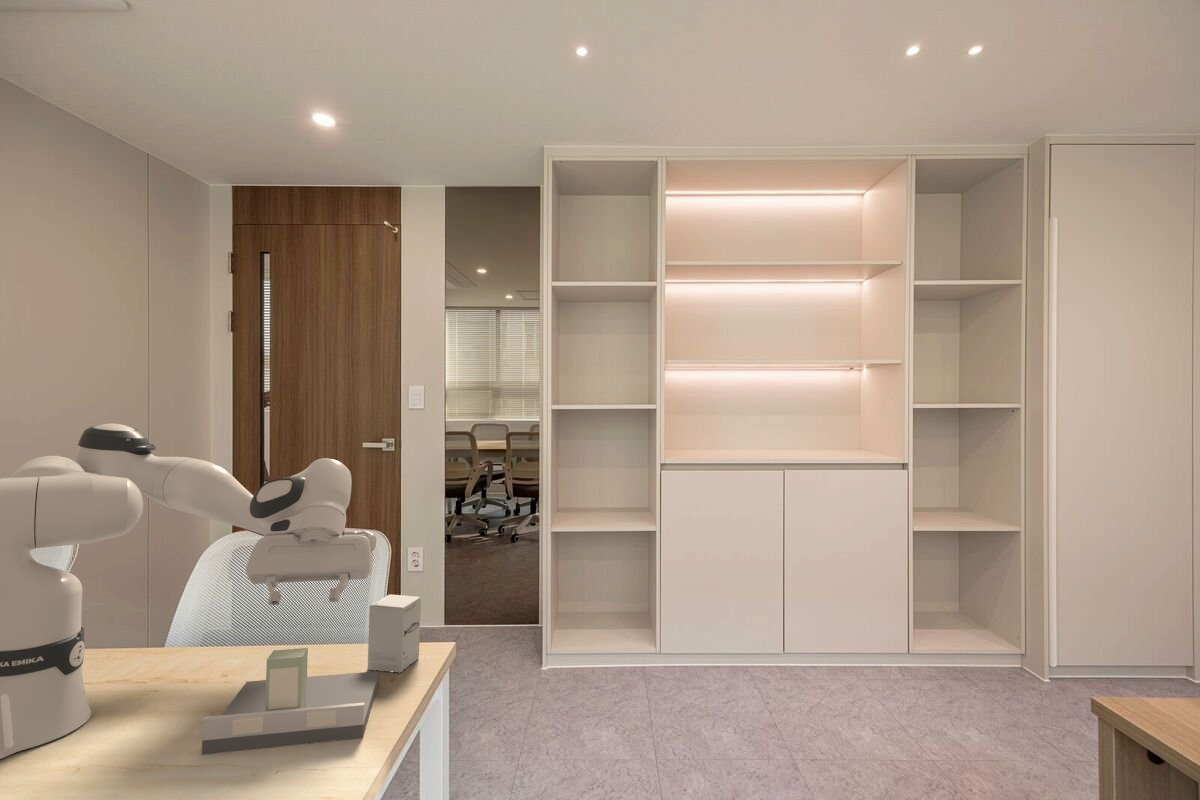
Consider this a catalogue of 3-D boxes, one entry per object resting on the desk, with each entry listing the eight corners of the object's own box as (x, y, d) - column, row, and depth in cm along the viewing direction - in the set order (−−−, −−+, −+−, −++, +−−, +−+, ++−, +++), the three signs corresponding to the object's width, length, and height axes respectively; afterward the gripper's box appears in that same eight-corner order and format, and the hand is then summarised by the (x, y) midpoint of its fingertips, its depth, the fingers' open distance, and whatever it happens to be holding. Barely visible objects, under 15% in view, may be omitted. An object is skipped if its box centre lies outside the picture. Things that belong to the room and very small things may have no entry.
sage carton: (264, 726, 90) (266, 660, 91) (271, 713, 94) (273, 650, 94) (300, 722, 92) (302, 657, 92) (306, 710, 95) (307, 648, 95)
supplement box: (401, 674, 113) (402, 607, 114) (366, 670, 115) (368, 604, 115) (420, 658, 121) (422, 596, 121) (387, 654, 122) (388, 593, 122)
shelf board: (200, 755, 86) (201, 720, 86) (246, 692, 105) (247, 664, 105) (362, 738, 91) (363, 705, 91) (378, 681, 110) (379, 654, 110)
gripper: (378, 540, 116) (370, 607, 106) (262, 543, 111) (242, 614, 101) (376, 521, 111) (367, 589, 102) (255, 524, 107) (233, 596, 97)
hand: (303, 602), depth 101 cm, fingers open, 8 cm apart
